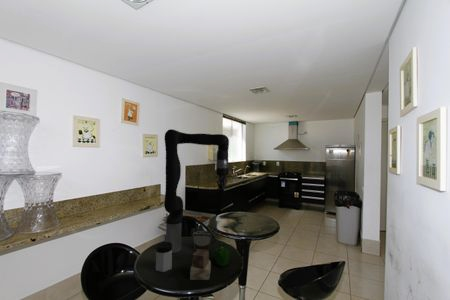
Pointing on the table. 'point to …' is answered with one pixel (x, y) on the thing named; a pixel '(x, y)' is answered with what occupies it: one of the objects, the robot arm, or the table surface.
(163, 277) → the table surface
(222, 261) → the bell pepper
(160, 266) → the jar
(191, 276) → the maple base
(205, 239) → the food container
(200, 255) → the walnut cube
